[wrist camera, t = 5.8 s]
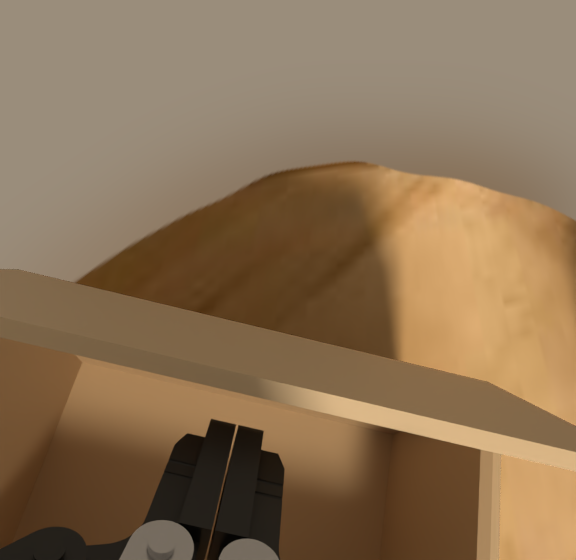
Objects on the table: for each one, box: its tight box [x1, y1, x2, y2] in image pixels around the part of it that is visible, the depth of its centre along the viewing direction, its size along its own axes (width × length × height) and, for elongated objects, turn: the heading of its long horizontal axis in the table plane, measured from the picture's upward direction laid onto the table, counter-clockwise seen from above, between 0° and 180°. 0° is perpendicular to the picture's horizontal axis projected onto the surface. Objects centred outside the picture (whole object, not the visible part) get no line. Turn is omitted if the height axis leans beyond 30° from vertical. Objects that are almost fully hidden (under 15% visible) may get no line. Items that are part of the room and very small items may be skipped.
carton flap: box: [0, 269, 576, 472], centre depth 18 cm, size 23×11×1 cm
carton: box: [0, 337, 501, 560], centre depth 26 cm, size 25×18×14 cm
